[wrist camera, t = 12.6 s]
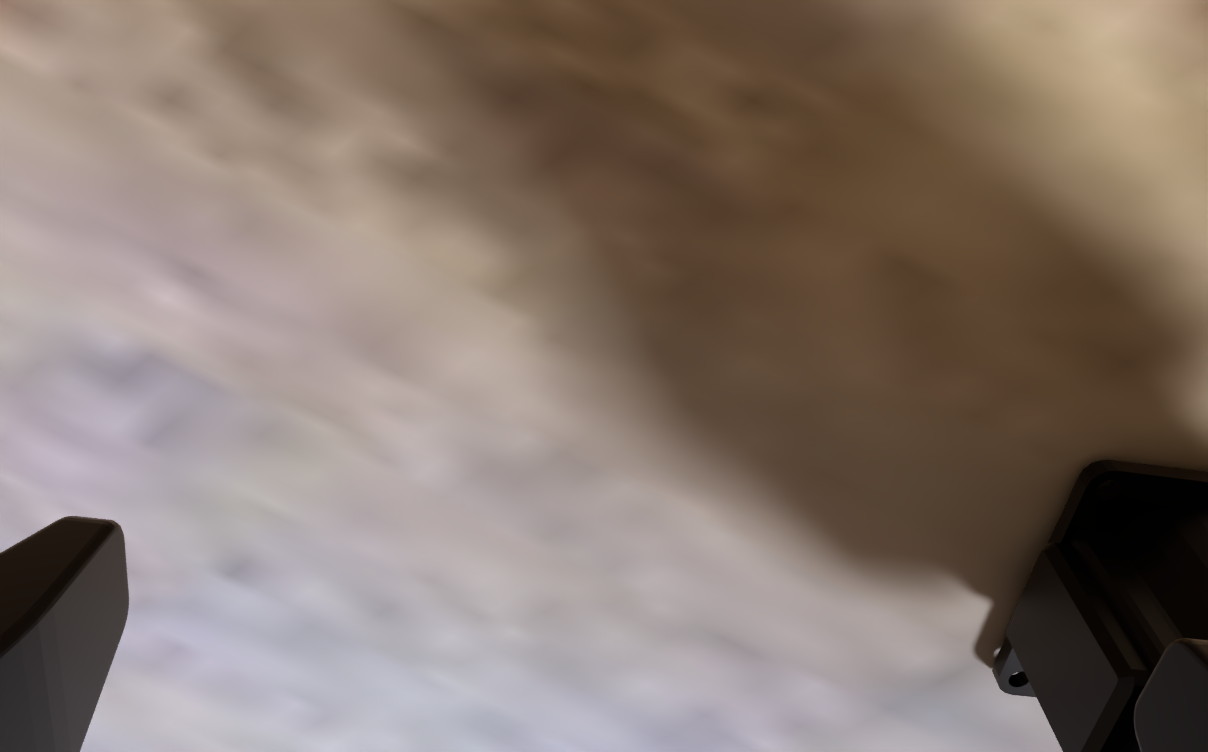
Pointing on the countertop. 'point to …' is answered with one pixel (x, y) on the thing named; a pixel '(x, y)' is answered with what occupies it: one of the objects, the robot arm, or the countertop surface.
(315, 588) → the countertop surface
